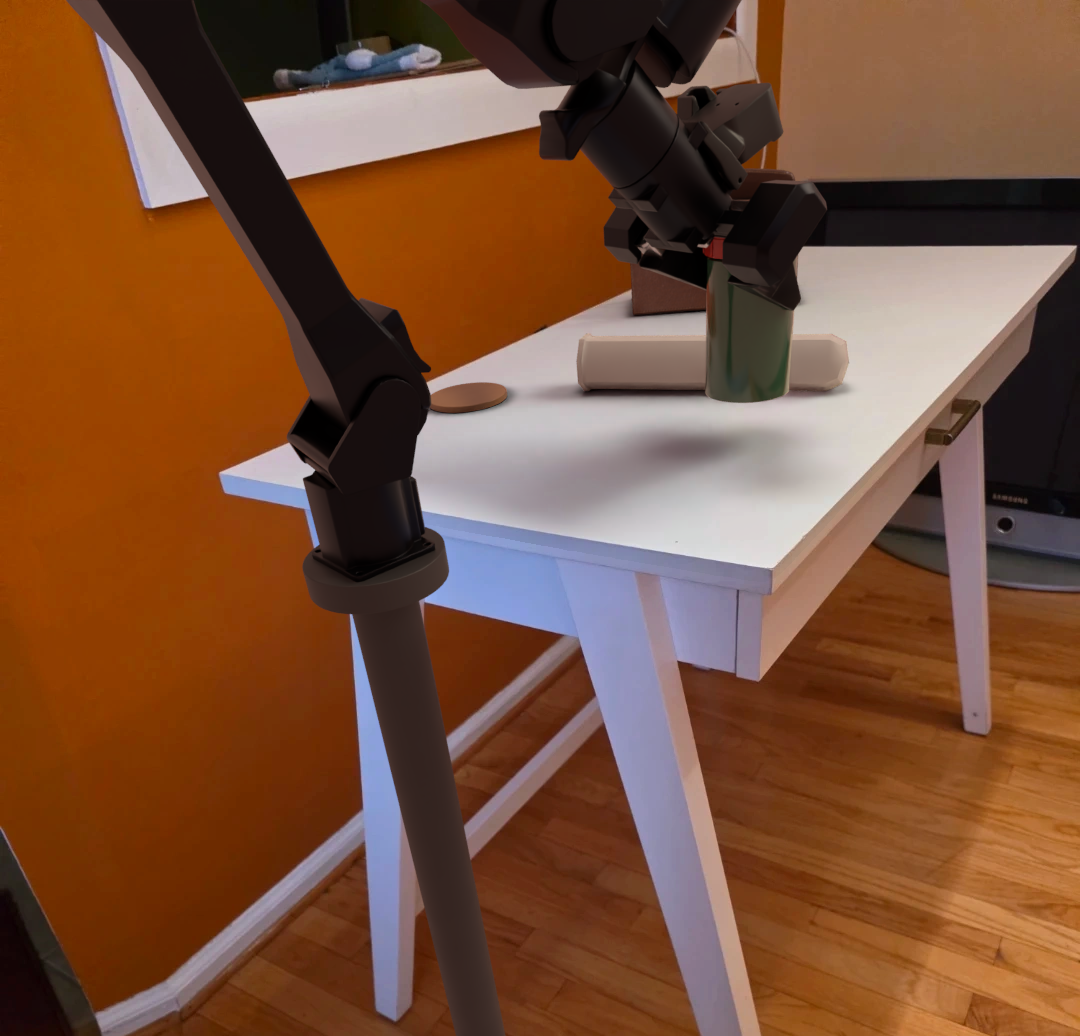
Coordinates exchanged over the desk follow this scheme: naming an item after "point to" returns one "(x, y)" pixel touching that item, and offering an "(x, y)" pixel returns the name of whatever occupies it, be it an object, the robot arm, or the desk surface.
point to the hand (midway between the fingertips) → (764, 299)
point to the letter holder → (677, 296)
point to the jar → (745, 342)
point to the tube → (695, 362)
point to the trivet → (468, 397)
